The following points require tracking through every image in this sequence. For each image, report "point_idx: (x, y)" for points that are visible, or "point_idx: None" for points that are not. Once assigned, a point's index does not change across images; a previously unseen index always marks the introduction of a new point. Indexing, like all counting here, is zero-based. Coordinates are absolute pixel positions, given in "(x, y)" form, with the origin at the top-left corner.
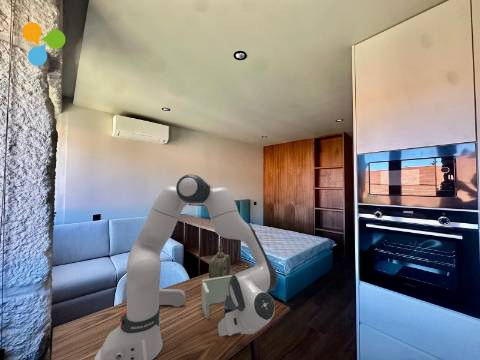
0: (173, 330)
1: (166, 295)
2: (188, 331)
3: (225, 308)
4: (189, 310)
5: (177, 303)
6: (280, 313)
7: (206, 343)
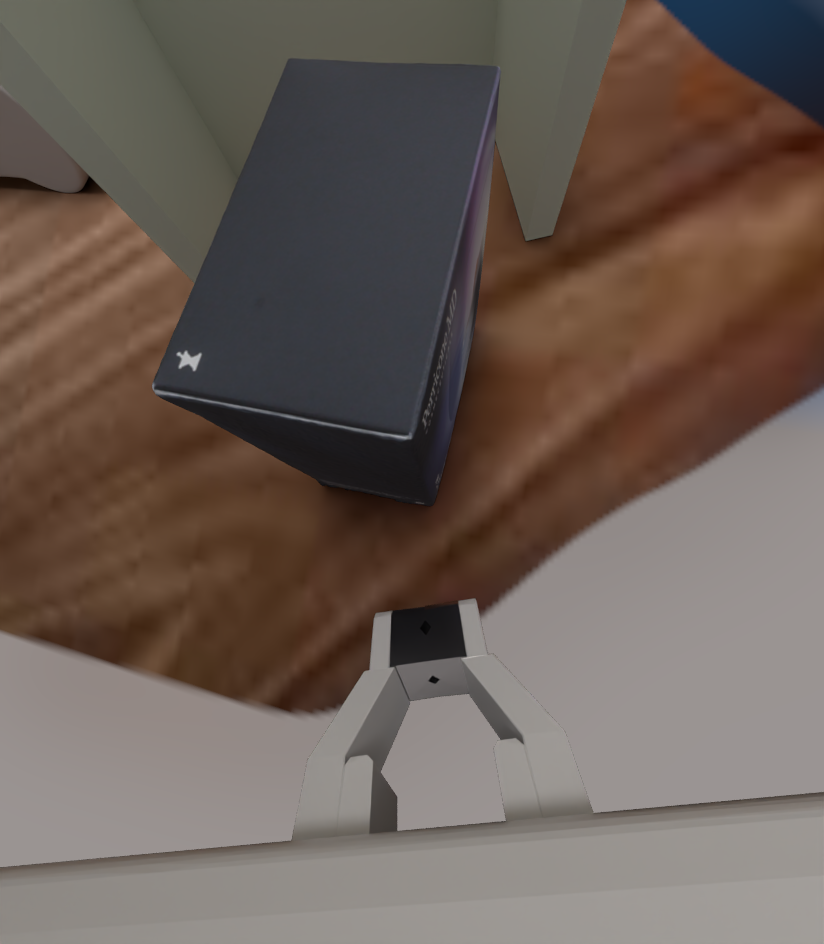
0: (9, 400)
1: None
2: (91, 422)
3: (169, 383)
4: (133, 227)
5: (41, 167)
6: None
7: (182, 559)
